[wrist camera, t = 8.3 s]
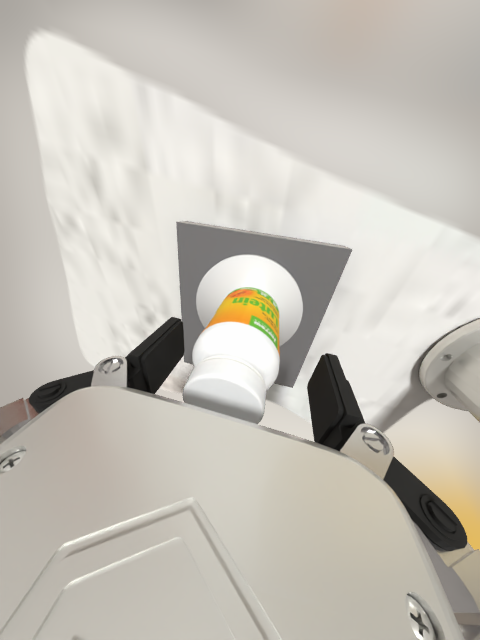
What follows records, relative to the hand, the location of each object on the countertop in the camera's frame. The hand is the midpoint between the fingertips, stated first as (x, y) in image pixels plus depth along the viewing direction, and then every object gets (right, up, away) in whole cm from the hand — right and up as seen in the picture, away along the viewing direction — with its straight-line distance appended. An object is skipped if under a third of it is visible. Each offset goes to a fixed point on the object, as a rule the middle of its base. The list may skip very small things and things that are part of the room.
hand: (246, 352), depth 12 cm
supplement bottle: (+1, +3, +5) cm, 6 cm away
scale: (+1, +3, +8) cm, 8 cm away
